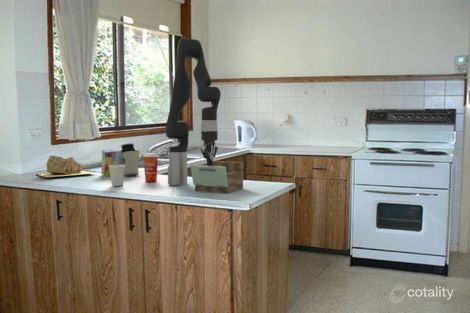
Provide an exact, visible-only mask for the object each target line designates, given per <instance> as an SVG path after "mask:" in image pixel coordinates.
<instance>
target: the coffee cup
mask: <svg viewBox="0 0 470 313" xmlns="http://www.w3.org/2000/svg"><path fill="white" fill-rule="evenodd" d="M142 157H143V165H144V166H143V168H144V180H145V182H147V183H154V182H157V180H158V160H159V155H158V153H156V152H152V153H151V152H148V153H143V155H142Z"/></svg>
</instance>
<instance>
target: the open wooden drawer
mask: <svg viewBox="0 0 470 313" xmlns="http://www.w3.org/2000/svg"><path fill="white" fill-rule="evenodd" d="M213 166H223V167H226V173H227V180H228V187H225V188H218V187H214V186H202V187H200V186H196V185H194V191H195V192H205V193H206V192H207V193H217V194H218V193H219V194H231V193H233V192H237V191H239V190H240V191H241V190H243V189H244V162H243V161H223V160H221V161H220V160H213Z"/></svg>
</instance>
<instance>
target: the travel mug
mask: <svg viewBox="0 0 470 313" xmlns="http://www.w3.org/2000/svg"><path fill="white" fill-rule="evenodd" d="M134 144H135V143H132V142H128V143H123V144H121V145H120V147H121V149H122V150H121V153H122V160H123V165H125V170H124V173H125V175H124V177H130V176H137V175H138V174H139V166H138V165H137V159H136V152H135V148H136V147H134V146H135V145H134Z"/></svg>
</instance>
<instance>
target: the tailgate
mask: <svg viewBox="0 0 470 313" xmlns="http://www.w3.org/2000/svg"><path fill="white" fill-rule="evenodd" d="M189 167H190V171H191V178H192V184H193V186H195V185H196V186H200V187H202V186H214V187H218V188H225V187H228V180H227V173H226V167H223V166H207V165H203V164H202V165H201V164H190V165H189Z"/></svg>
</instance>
